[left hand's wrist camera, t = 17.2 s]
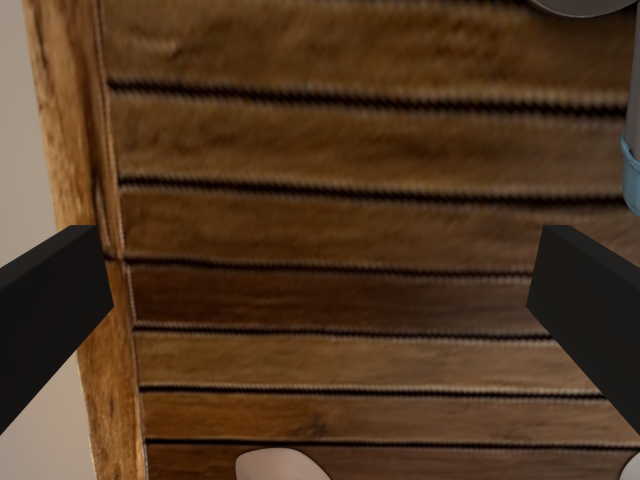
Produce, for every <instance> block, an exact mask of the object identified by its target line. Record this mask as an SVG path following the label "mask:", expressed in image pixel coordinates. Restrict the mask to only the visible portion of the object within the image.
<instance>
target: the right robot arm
mask: <svg viewBox="0 0 640 480" xmlns="http://www.w3.org/2000/svg"><path fill="white" fill-rule="evenodd" d="M620 480H640V452H639V453H638V454H637V455H636V456H635V457H633V458H632V459H631V461H630V462H629V463H628V464H627V465H626V467H625V468H624V470H623V472H622V474H621V476H620Z"/></svg>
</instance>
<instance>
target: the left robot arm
mask: <svg viewBox="0 0 640 480" xmlns="http://www.w3.org/2000/svg"><path fill="white" fill-rule="evenodd" d="M523 1H524V2H525V3H526V4H527V5H529V6H530V7H531V8H533V9H535V10H536V11H538V12H540V13H543V14H545V15H548V16H551V17H554V18H560V19H584V18H590V17H595V16H600V15H604V14H607V13H611V12H614V11H617V10H619V9H622V8H624V7H626V6H628V5H630V4H632V3H634V2H635V1H637V0H523ZM620 146H621V150H622V153H623V179H622V191H623V196H624V199H625V201H626V203H627V205H628V207H629V208H630V209H631V210H632V211H633V212H634V213H635V215H637V216H638V217H640V0H639V1H638V7H637V17H636V28H635V38H634V49H633V59H632V70H631V80H630V90H629V98H628V107H627V115H626V123H625V131H623V134H622V137H621V142H620ZM113 307H114V304H113V299H112V295H111V290H110V285H109V281H108V276H107V271H106V267H105V262H104V257H103V253H102V248H101V243H100V239H99V234H98V229H97V225H70V226H68V227H67V228H65V229H64V230H62V231H60V232H59V233H57V234H55V235H54V236H52V237H50V238H49V239H47V240H46V241H44V242H42V243H41V244H39V245H37V246H36V247H34V248H32V249H31V250H29V251H27V252H26V253H24V254H23V255H21V256H19V257H18V258H16V259H14V260H13V261H11V262H9V263H8V264H6V265H5V266H3V267H1V268H0V435H1V434H2V433H3V432H4V431H5V430H6V428H7V427H8V426H9V425H10V424H11V423H12V422H13V421H14V420H15V418H16V417H17V416H18V415H19V414H20V413H21V412H22V410H23V409H24V408H25V407H26V406H27V405H28V404H29V402H30V401H31V400H32V399H33V398H34V397H35V396H36V395H37V393H38V392H39V391H40V390H41V389H42V388H43V387H44V386H45V384H46V383H47V382H48V381H49V380H50V379H51V378H52V376H53V375H54V374H55V373H56V372H57V371H58V370H59V368H60V367H61V366H62V365H63V364H64V363H65V362H66V361H67V359H68V358H69V357H70V356H71V355H72V354H73V353H74V351H75V350H76V349H77V348H78V347H79V346H80V345H81V344H82V342H83V341H84V340H85V339H86V338H87V337H88V336H89V334H90V333H91V332H92V331H93V330H94V329H95V328H96V327H97V325H98V324H99V323H100V322H101V321H102V320H103V319H104V317H105V316H106V315H107V314H108V313H109V312H110V311H111V310H112V308H113ZM526 307H527V308H528V310H529V311H530V312H531V313H532V314H533V315H534V316H535V317H536V319H537V320H538V321H539V322H540V323H541V324H542V325H543V327H544V328H545V329H546V330H547V331H548V332H549V333H550V334H551V336H552V337H553V338H554V339H555V340H556V341H557V342H558V344H559V345H560V346H561V347H562V348H563V349H564V350H565V351H566V353H567V354H568V355H569V356H570V357H571V358H572V359H573V361H574V362H575V363H576V364H577V365H578V366H579V367H580V369H581V370H582V371H583V372H584V373H585V374H586V375H587V376H588V378H589V379H590V380H591V381H592V382H593V383H594V384H595V386H596V387H597V388H598V389H599V390H600V391H601V392H602V393H603V395H604V396H605V397H606V398H607V399H608V400H609V401H610V403H611V404H612V405H613V406H614V407H615V408H616V409H617V410H618V412H619V413H620V414H621V415H622V416H623V417H624V418H625V420H626V421H627V422H628V423H629V424H630V425H631V426H632V427H633V429H634V430H635V431H636V432H637V433H638V434H639V435H640V268H639V267H637V266H635V265H634V264H632V263H631V262H629V261H627V260H626V259H624V258H622V257H621V256H619V255H617V254H616V253H614V252H613V251H611V250H609V249H608V248H606V247H604V246H603V245H601V244H599V243H598V242H596V241H594V240H593V239H591V238H590V237H588V236H586V235H585V234H583V233H581V232H580V231H578V230H576V229H575V228H573V227H572V226H570V225H543V229H542V234H541V239H540V243H539V248H538V253H537V257H536V262H535V267H534V271H533V276H532V281H531V285H530V290H529V295H528V299H527V304H526Z"/></svg>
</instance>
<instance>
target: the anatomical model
mask: <svg viewBox="0 0 640 480" xmlns="http://www.w3.org/2000/svg"><path fill="white" fill-rule="evenodd" d="M236 475H237V480H331V479H330V478H329V477H328V476H327V474H326V473H325V472H324V471H323V470H322V469H321V468H320V467H319V466H318V465H317V464H316V463H315V462H313V461H312V460H311V459H310V458H308V457H307V456H306V455H304V454H302V453H301V452H299V451H296V450H293V449H288V448H267V449H260V450H255V451H251V452H247V453H244V454H242V455H240V456H239V457H238V458H237V460H236Z"/></svg>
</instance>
